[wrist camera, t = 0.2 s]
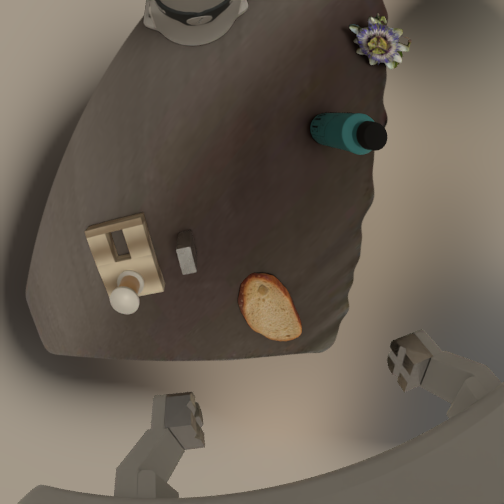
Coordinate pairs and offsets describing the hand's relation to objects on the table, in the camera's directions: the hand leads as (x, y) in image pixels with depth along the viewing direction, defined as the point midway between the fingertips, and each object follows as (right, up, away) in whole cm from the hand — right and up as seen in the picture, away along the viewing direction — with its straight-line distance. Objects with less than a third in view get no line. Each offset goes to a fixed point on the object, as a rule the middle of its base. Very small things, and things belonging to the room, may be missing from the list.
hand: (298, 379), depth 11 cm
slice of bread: (+3, -8, +58) cm, 59 cm away
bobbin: (-26, -1, +46) cm, 52 cm away
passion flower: (+23, +47, +35) cm, 63 cm away
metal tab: (-14, +7, +47) cm, 50 cm away
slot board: (-27, +4, +46) cm, 54 cm away
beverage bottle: (+11, +28, +42) cm, 52 cm away
